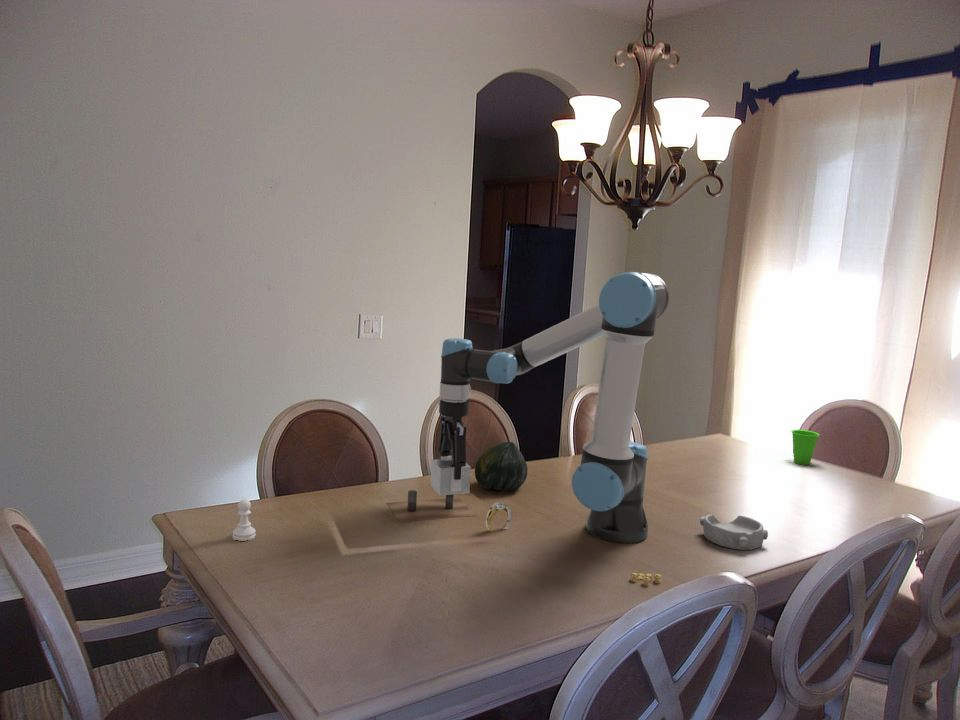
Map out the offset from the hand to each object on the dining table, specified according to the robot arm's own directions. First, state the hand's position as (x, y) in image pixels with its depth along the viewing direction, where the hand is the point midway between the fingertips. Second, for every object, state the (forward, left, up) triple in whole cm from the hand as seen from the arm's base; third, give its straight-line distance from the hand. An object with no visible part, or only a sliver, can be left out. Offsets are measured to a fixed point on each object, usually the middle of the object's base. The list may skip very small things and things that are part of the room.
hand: (450, 485), depth 188 cm
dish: (-34, -63, -8) cm, 72 cm away
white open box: (0, 0, -1) cm, 1 cm away
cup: (+21, -138, -7) cm, 140 cm away
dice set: (-48, -28, -8) cm, 56 cm away
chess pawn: (-6, +51, -7) cm, 52 cm away
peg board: (0, +5, -7) cm, 9 cm away
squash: (+16, -21, -7) cm, 27 cm away
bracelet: (-17, -7, -7) cm, 20 cm away
